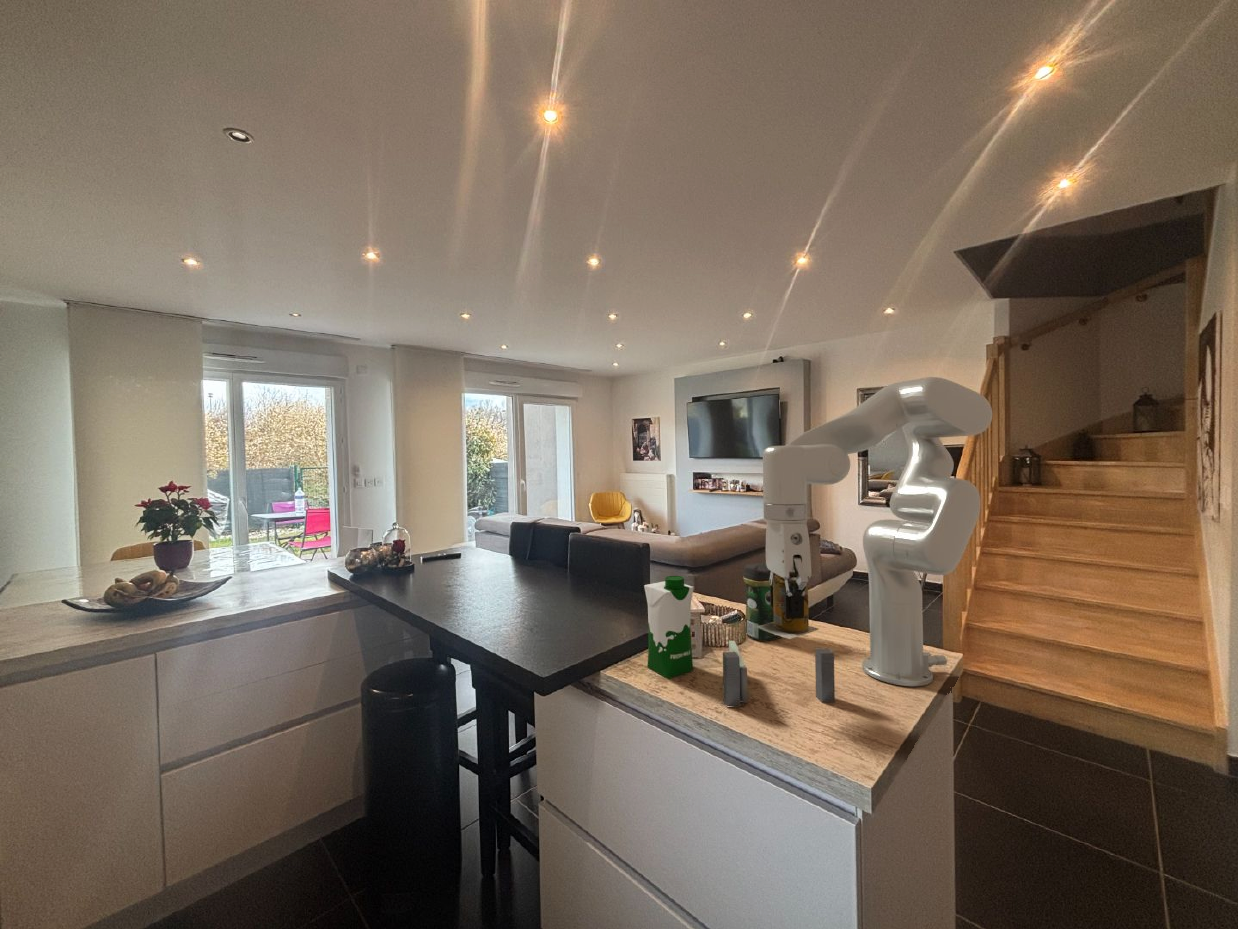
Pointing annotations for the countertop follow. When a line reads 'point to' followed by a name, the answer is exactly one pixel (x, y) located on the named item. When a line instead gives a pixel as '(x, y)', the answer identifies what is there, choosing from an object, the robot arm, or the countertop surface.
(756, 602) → the coffee jar
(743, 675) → the panel
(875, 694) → the countertop surface
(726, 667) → the gate posts
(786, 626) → the condiment
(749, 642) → the countertop surface
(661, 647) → the milk carton
